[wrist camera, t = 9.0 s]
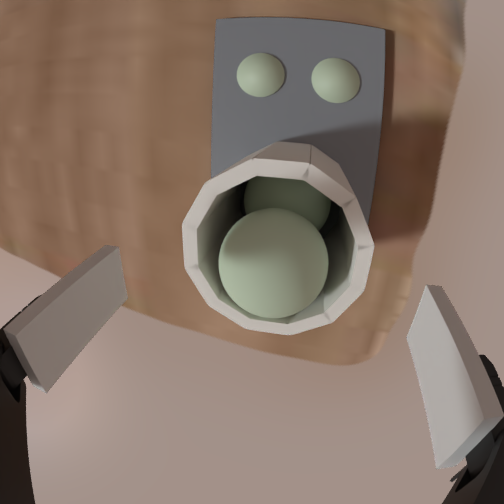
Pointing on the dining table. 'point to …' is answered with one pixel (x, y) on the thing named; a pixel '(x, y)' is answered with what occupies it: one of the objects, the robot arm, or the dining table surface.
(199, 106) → the dining table surface
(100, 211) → the dining table surface
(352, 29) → the tube stand
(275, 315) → the sage ball
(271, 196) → the sage ball
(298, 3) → the dining table surface
